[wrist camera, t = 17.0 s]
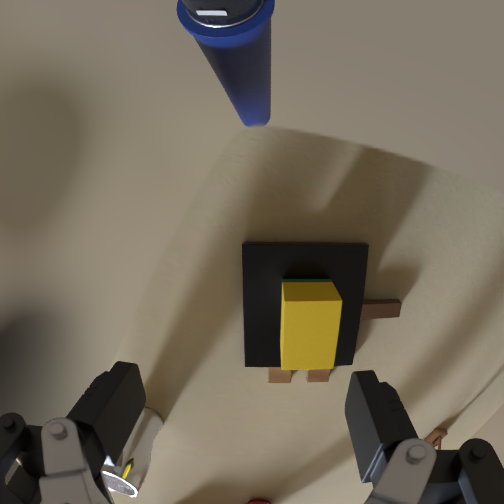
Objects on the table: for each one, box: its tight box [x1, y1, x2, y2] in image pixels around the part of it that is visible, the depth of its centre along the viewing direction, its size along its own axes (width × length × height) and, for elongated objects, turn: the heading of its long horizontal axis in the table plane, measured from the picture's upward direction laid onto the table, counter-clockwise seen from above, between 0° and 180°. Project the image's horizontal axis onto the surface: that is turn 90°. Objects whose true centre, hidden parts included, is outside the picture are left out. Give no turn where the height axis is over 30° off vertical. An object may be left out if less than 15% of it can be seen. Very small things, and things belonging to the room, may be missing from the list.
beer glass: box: [101, 407, 163, 496], centre depth 35 cm, size 7×7×15 cm
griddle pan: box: [242, 242, 402, 367], centre depth 34 cm, size 16×19×2 cm
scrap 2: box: [306, 369, 330, 382], centre depth 37 cm, size 3×3×1 cm
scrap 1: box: [268, 367, 291, 383], centre depth 37 cm, size 3×3×1 cm
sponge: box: [280, 279, 342, 370], centre depth 31 cm, size 8×6×6 cm
